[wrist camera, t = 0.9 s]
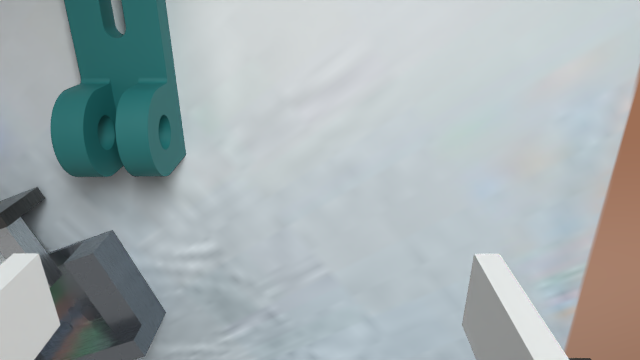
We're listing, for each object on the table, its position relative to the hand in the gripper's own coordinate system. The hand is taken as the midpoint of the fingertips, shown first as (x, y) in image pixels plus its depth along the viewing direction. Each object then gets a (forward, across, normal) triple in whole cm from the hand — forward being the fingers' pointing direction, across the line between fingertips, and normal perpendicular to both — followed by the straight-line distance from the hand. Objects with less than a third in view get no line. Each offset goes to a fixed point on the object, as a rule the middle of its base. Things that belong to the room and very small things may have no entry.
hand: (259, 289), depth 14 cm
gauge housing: (+26, -24, -16) cm, 39 cm away
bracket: (+26, -14, +4) cm, 30 cm away
